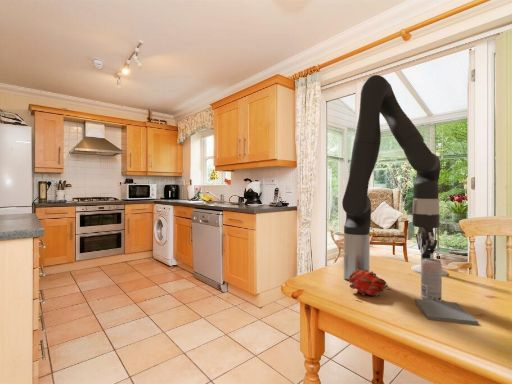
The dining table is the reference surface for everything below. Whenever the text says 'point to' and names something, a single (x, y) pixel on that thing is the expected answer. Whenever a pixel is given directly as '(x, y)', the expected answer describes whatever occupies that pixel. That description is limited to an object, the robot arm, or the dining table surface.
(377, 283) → the dragon fruit
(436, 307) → the mat
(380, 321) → the dining table surface
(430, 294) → the energy drink
